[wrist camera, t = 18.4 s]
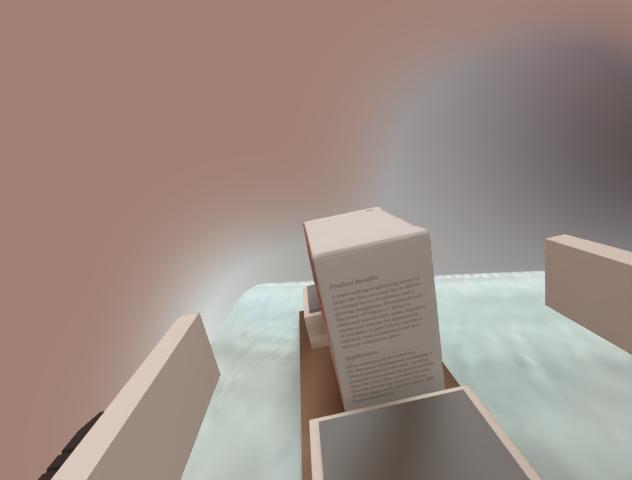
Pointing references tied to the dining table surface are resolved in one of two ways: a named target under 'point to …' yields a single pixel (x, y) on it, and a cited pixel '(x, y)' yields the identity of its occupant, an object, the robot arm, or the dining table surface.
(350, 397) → the small box
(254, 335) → the dining table surface
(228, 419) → the dining table surface
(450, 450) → the board
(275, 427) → the dining table surface
